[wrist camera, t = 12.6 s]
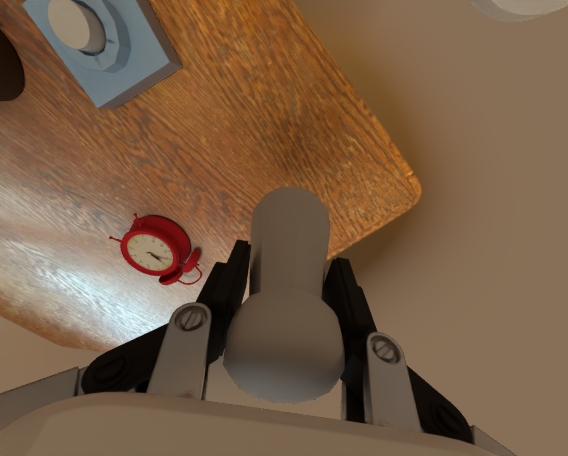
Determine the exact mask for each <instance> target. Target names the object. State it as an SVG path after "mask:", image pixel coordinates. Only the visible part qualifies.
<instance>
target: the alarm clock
mask: <svg viewBox="0 0 568 456" xmlns="http://www.w3.org/2000/svg"><path fill="white" fill-rule="evenodd" d="M133 215H134V216H135V217H136V219H135V220H134V221H133V222H134V224H133V225H132V226H131V228H130V231H129V232H128V233H126V234H125V235H124V237H123V239H122V241H121V240H119V239H115V238H112V236H110V237H109V239H114V240H116V241H118V242H121V245H120V248H121V252H122V255H123V257H124V258H125V260H126V261H127V262H128V263H129V264H130V265H131V266H132V267H134V268H135V269H137V270H138V271H140V272H142V273H145V274H148V275H153V276H161V277H160V278H159V282H160V283H161V284H162V285H169V284H172V283H174V282H176V281H179V282H180V283H183V284H185V285H191V284H194V283H196V282H197V281H199V280H200V279H201V277H202V272H201V271H200V270H199V268H198V267H197V266H196V265H198V266H199V265H200V264H198V263H197V262H198V260H199V257H200V252H199V251H198V250H196V249H195V250H194V251H193V253H192V254H191V256H190V258H189V259H188V261H187V263H186V264H185V263H183V262H184V261H185V260H186V259H187V258H188V256H189V254H190V242H189V239H188V237H187V235H186V234H185V232H184V231H183V230H182V229H181V228H180V227H179V226H177V225H176V224H175V223H173V222H171V221H169V220H167V219H165V218H161V217H157V216H147V217H143V218H140V219H138V217H137V214H136V213H134V214H133ZM180 264H184V265H185V266H184V268H182V267H181V266H179V265H180ZM194 267H196V268H197V270H198V271H199V272H200V278H199V279H198V280H197V281H195V282H193V283H184V282H182V281H180V280H178V279H179V278H180V277H181V276H182V274H183V272H186V273H188V272H190V271H191V270H192V269H193V268H194Z"/></svg>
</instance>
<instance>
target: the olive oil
mask: <svg viewBox="0 0 568 456" xmlns="http://www.w3.org/2000/svg"><path fill="white" fill-rule="evenodd" d="M23 81H24V79H23V71H22V67H21V64H20V61H19V59H18V57H17V55H16V53H15V51H14V49H13V48H12V46H11V44H10V43H9V42H8V40H7V39H6V38H5V36H4V35H3V34H2V33H1V32H0V101H8V100H12V99H14V98H16V97H17V96H18V95H19V94H20V93H21V91H22V88H23Z"/></svg>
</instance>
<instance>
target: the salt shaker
mask: <svg viewBox="0 0 568 456" xmlns="http://www.w3.org/2000/svg"><path fill="white" fill-rule="evenodd" d="M329 235H330V220H329V214H328V210H327V208H326V207H325V205H324V204H323V203H322V202H321V201H320V199H319V198H318V197H317V196H316V194H314V193H311V192H309V191H307V190H305V189H303V188H300V187H280V188H278V189H276V190H274V191H272V192H270V193H268V194H266V195H265V196H264V197H263V198H262V199H261V201H260V202H259V203H258V205H257V206H256V207H255V209H254V210H253V216H252V222H251V242H250V245H251V253H250V286H249V297H248V298H247V299H246V301H245V302H244V303H243V304H242V305H241V306H240V307H239V308H238V309H237V310H236V312H235V313H234V314H233V316H232V319H231V322H230V324H229V327H228V330H227V336H226V344H225V353H224V361H223V365H224V367H225V369H226V370H227V372H228V373H229V375H230V377H231V378H232V380H233V381H234V382H235V384H236V385H237V387H238V388H239V389H241V390H243V391H244V392H246V393H248V394H249V395H251V396H252V397H255V398H258V399H263V400H266V401H270V402H274V403H292V404H295V403H301V402H306V401H311V400H315V399H317V398H319V397H321V396H323V395H325V394H327V393H328V392H330V391H331V389H332V388H333V387H334V386H335V384H336V383H337V381H338V380H339V378H340V376H341V375H342V373H343V371H344V370H345V351H344V345H343V339H342V334H341V330H340V326H339V322H338V318H337V316H336V314H335V313H334V311H333V310H332V309H331V308H330V307H329V306H328V305H327V304H326V303H325V302H324V301H322V295H323V286H324V277H325V269H326V260H327V252H328V243H329Z"/></svg>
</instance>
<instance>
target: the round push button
mask: <svg viewBox="0 0 568 456" xmlns="http://www.w3.org/2000/svg"><path fill="white" fill-rule="evenodd" d="M47 12H48V19H49V22H50V25H51V27H52V29H53V31H54V33H55V34H56V35H57V37H58V38H59V39H60V40H61V41H62V42H63V43H64V44H66V45H67V46H69V47H71V48H74V49H78V50H81V51H85V52H89V53H99V52H101V51H102V50H103V49H104V47H105V44H106V34H105V30H104V27H103V25H102V23H101V21H100V20H99V18H98V17H97V16H96V14H95V13H94V12H92V11H91V10H90V9H88V8H87V7H84V6H82V5H80V4H78V3H76V2H74V1H72V0H51V1H50V2H49V5H48V10H47Z"/></svg>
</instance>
